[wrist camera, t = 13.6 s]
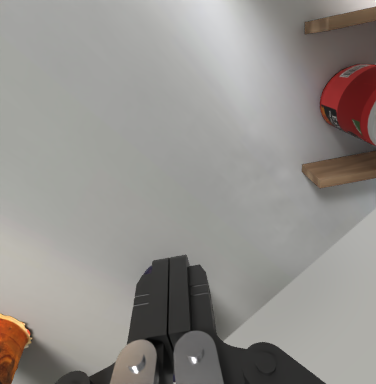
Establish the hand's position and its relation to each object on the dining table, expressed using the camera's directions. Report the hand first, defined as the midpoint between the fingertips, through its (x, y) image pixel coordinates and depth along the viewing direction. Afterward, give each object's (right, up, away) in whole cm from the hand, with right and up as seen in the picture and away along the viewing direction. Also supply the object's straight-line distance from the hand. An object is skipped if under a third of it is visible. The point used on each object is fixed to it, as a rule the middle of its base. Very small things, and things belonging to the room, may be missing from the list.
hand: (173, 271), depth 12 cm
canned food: (+22, +16, +23) cm, 36 cm away
